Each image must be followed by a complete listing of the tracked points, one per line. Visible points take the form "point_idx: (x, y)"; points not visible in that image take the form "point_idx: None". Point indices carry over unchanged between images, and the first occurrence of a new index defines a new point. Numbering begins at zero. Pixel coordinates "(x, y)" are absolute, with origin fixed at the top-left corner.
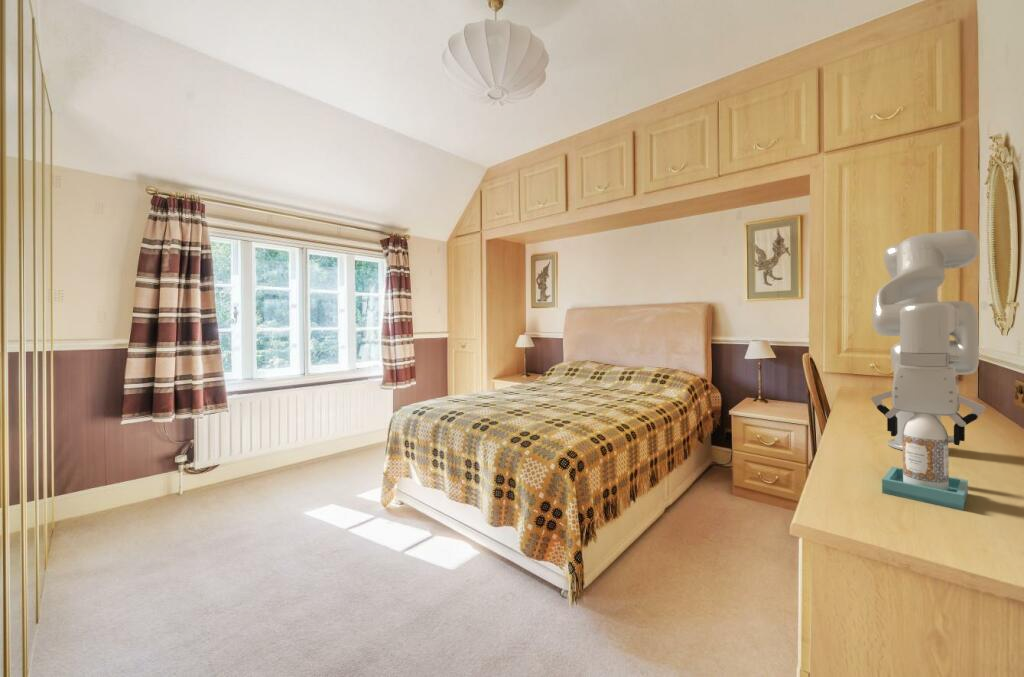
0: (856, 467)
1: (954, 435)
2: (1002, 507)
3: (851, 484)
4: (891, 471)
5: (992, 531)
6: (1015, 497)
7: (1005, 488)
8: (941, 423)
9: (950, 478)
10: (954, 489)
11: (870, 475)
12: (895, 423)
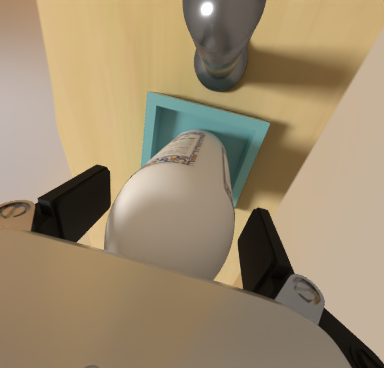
0: (92, 28)
1: (241, 267)
2: (286, 168)
3: (110, 167)
4: (147, 138)
5: (234, 251)
6: (346, 90)
7: (375, 9)
8: (214, 278)
9: (241, 126)
10: (241, 136)
11: (124, 89)
12: (80, 232)
